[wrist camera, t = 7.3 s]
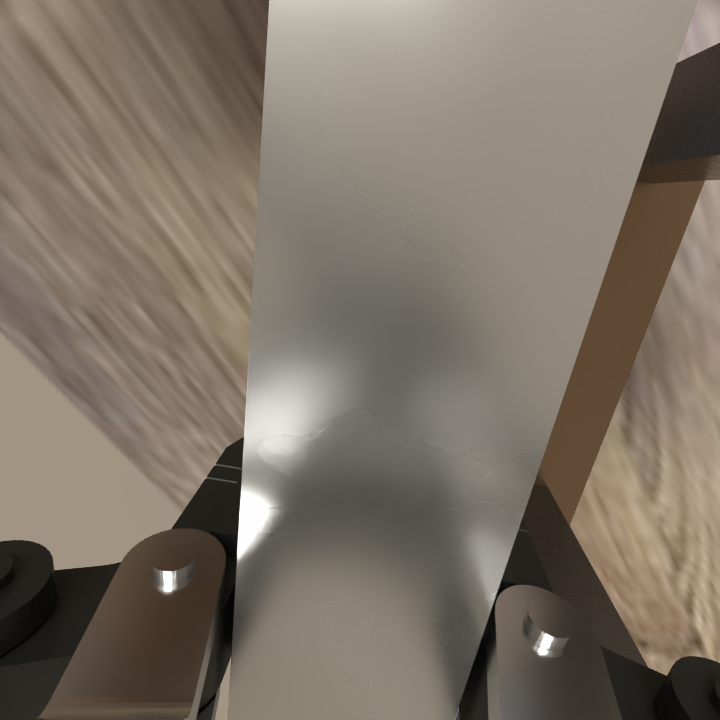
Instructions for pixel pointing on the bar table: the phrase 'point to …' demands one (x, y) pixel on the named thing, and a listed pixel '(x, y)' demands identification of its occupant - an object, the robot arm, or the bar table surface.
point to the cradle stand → (624, 333)
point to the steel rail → (419, 322)
